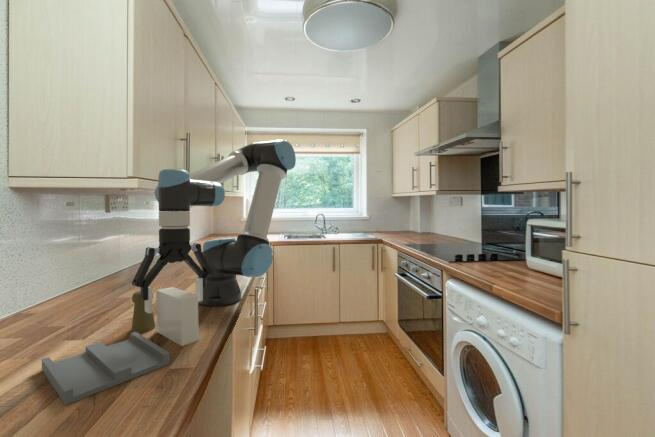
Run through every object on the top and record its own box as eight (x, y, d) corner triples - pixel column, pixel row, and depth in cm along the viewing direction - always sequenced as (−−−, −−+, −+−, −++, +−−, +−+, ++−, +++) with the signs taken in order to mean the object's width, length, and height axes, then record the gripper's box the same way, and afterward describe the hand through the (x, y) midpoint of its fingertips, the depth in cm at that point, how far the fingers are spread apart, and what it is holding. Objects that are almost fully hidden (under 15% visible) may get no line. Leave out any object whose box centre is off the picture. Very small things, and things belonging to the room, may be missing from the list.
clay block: (173, 327, 91) (172, 286, 90) (198, 340, 82) (197, 295, 82) (157, 332, 87) (156, 290, 87) (182, 346, 79) (180, 299, 78)
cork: (150, 322, 94) (149, 287, 94) (159, 327, 90) (158, 290, 90) (128, 328, 90) (126, 291, 89) (136, 334, 86) (134, 295, 85)
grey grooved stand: (135, 340, 82) (135, 331, 81) (169, 363, 70) (169, 352, 70) (42, 370, 67) (41, 359, 67) (65, 405, 55) (64, 391, 55)
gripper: (209, 225, 95) (209, 293, 96) (116, 229, 76) (117, 314, 76) (223, 226, 91) (223, 298, 91) (128, 230, 71) (129, 321, 72)
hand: (175, 305), depth 84 cm, fingers open, 13 cm apart
